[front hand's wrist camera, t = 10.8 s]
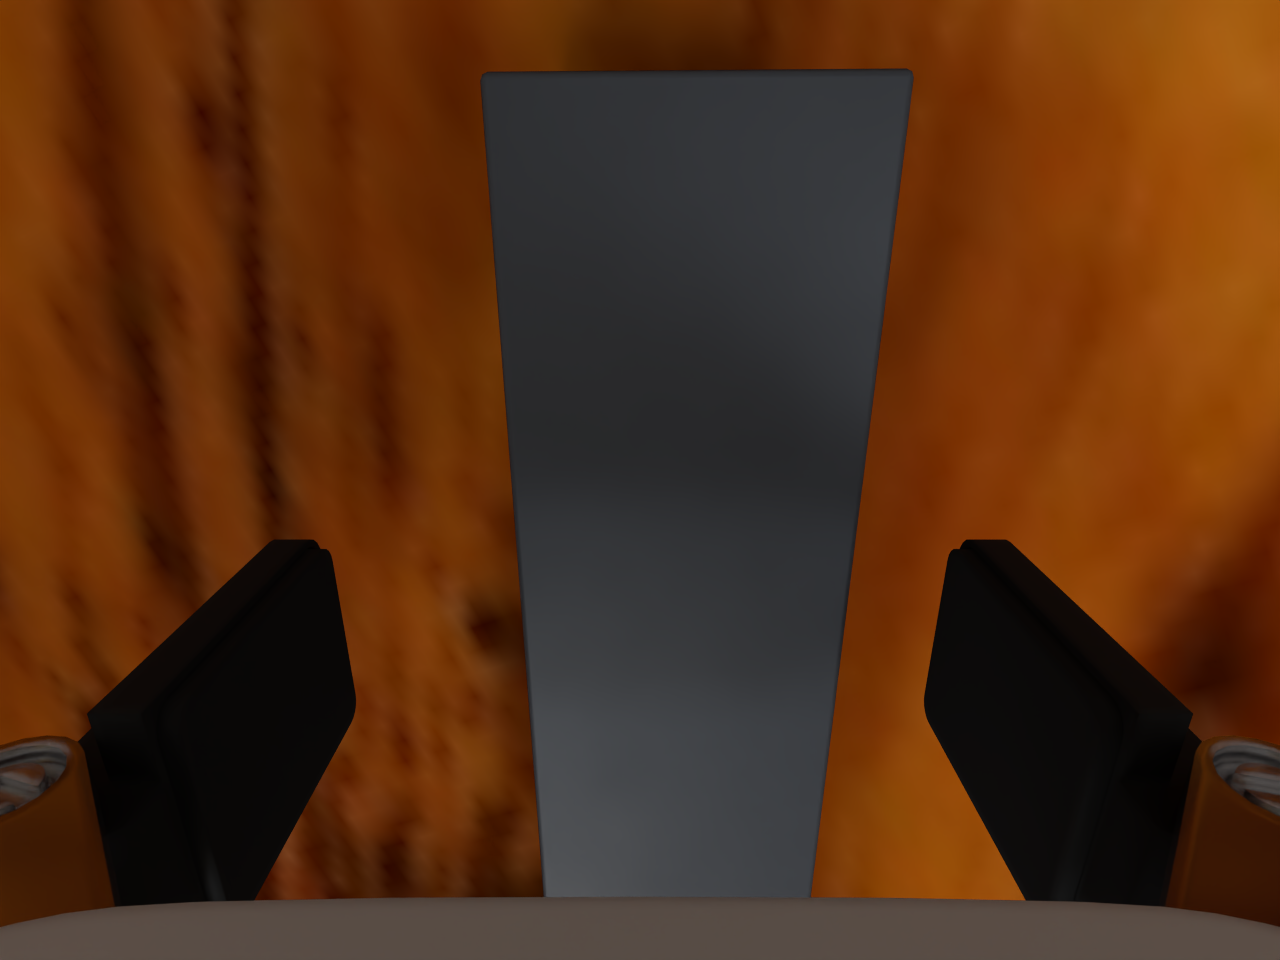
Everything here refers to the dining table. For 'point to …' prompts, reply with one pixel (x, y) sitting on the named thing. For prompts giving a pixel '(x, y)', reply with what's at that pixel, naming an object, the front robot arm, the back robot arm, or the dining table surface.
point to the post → (688, 450)
